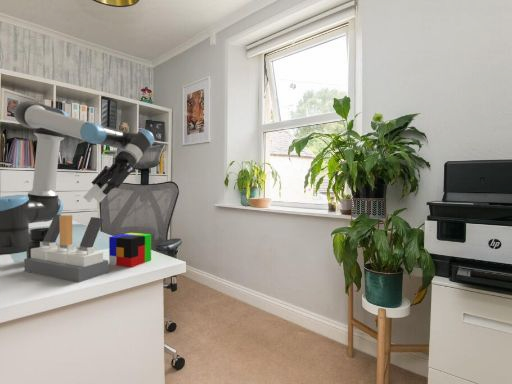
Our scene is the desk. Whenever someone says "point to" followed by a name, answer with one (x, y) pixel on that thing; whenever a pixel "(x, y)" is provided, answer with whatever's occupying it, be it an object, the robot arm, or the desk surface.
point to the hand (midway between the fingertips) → (91, 199)
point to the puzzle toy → (129, 249)
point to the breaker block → (68, 255)
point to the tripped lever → (65, 230)
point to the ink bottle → (36, 239)
